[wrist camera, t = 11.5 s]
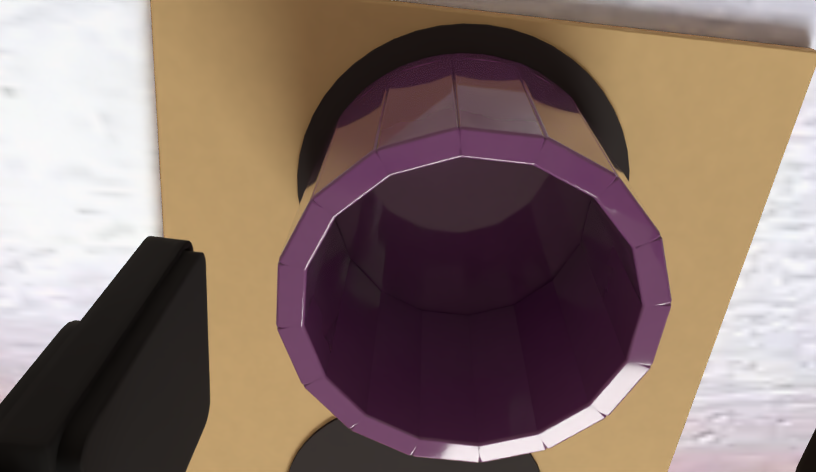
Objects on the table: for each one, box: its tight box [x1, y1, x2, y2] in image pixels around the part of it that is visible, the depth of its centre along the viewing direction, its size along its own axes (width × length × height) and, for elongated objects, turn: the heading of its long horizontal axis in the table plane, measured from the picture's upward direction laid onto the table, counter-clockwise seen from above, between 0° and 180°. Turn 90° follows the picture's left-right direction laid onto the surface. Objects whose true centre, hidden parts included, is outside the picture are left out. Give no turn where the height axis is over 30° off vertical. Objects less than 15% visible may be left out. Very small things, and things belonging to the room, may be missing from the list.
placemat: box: [150, 0, 816, 472], centre depth 19 cm, size 18×14×1 cm
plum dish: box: [276, 53, 672, 463], centre depth 14 cm, size 7×7×5 cm
